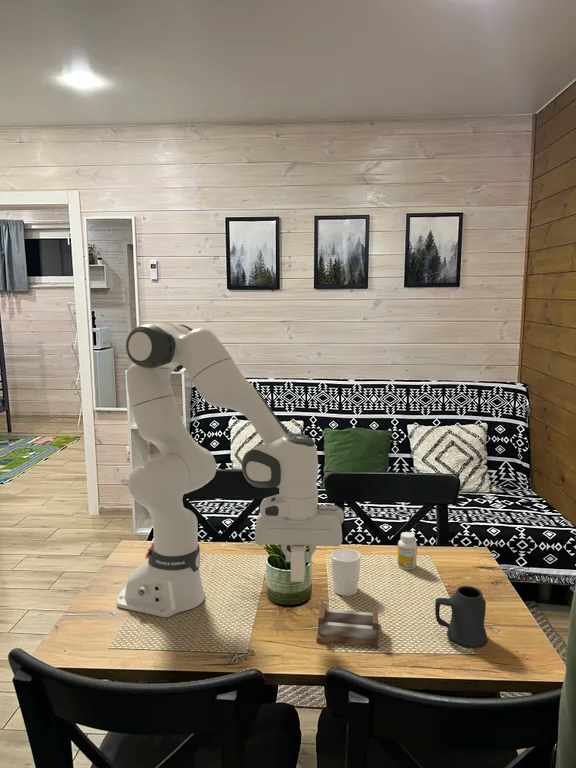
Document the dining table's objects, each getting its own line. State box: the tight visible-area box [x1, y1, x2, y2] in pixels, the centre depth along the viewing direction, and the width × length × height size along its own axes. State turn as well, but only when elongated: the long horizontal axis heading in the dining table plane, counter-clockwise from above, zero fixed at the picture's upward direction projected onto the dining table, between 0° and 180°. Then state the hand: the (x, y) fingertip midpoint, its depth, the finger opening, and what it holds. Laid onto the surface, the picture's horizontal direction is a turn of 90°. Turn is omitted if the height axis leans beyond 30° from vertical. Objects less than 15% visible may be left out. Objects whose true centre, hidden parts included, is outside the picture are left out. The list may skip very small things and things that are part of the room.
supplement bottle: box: [397, 531, 418, 571], centre depth 169 cm, size 5×5×10 cm
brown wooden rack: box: [316, 602, 380, 648], centre depth 136 cm, size 14×10×5 cm
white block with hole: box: [289, 545, 307, 583], centre depth 134 cm, size 9×4×7 cm, turn 176°
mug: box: [434, 585, 488, 649], centre depth 134 cm, size 12×9×11 cm
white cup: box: [330, 548, 362, 597], centre depth 155 cm, size 8×8×10 cm
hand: (298, 561), depth 134 cm, fingers closed on white block with hole, 3 cm apart
